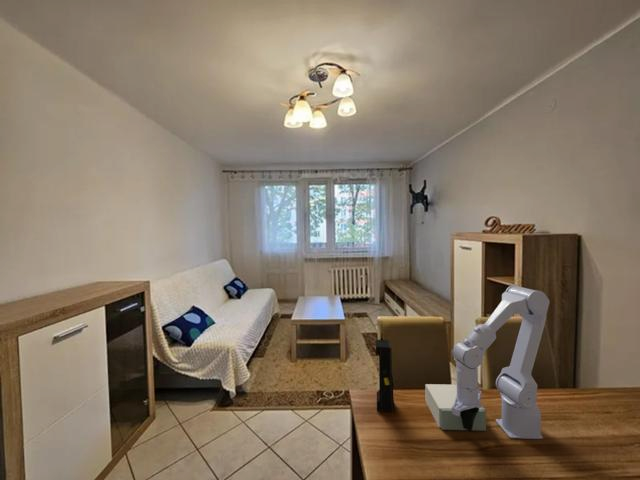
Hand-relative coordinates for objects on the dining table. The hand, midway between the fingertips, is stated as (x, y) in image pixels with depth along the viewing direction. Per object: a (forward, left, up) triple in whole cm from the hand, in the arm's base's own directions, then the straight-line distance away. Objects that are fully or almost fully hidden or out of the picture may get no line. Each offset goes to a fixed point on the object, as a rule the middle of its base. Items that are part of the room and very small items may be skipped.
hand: (467, 429), depth 84 cm
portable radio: (+22, -13, -2) cm, 26 cm away
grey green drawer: (0, -9, -2) cm, 9 cm away
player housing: (0, -10, -2) cm, 11 cm away
